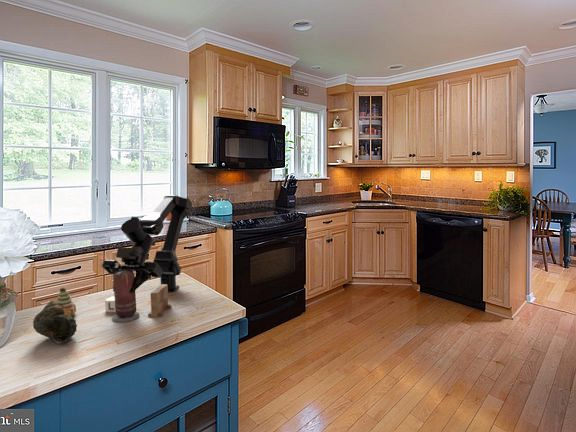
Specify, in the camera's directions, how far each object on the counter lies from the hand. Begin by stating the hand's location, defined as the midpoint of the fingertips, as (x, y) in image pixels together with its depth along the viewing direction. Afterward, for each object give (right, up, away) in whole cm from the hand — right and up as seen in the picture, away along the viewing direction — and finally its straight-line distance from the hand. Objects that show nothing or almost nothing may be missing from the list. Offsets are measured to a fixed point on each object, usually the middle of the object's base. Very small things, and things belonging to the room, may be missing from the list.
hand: (122, 292), depth 116 cm
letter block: (-7, -8, +9) cm, 13 cm away
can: (0, -8, +3) cm, 8 cm away
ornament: (-20, -9, +2) cm, 22 cm away
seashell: (-12, -11, -14) cm, 21 cm away
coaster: (0, -9, +2) cm, 9 cm away
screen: (+9, -8, +7) cm, 14 cm away
